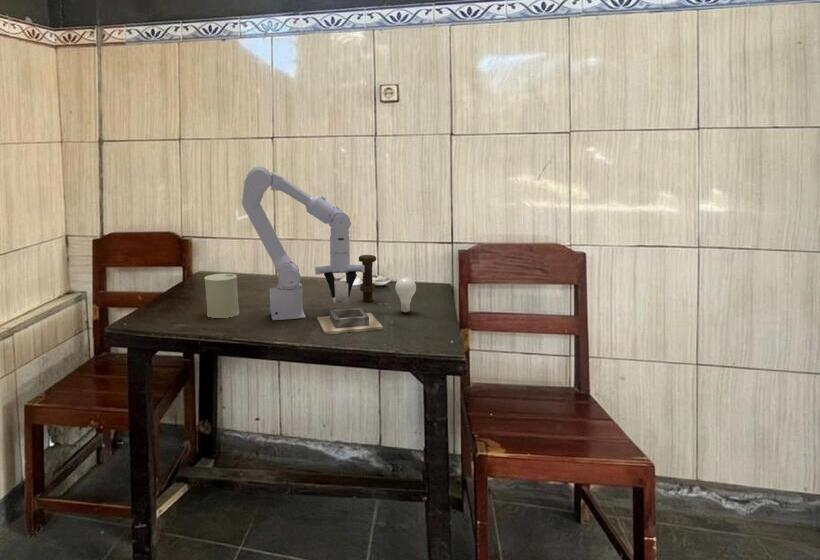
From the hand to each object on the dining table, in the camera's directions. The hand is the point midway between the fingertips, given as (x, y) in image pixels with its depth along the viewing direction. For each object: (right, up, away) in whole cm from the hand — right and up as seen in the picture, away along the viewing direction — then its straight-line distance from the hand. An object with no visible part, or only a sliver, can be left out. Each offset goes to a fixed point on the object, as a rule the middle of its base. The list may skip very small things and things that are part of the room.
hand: (340, 296), depth 162 cm
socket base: (+4, -8, -10) cm, 13 cm away
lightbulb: (+20, -5, +2) cm, 20 cm away
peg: (0, -2, 0) cm, 2 cm away
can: (-35, -6, -2) cm, 35 cm away
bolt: (+7, -2, +15) cm, 17 cm away
